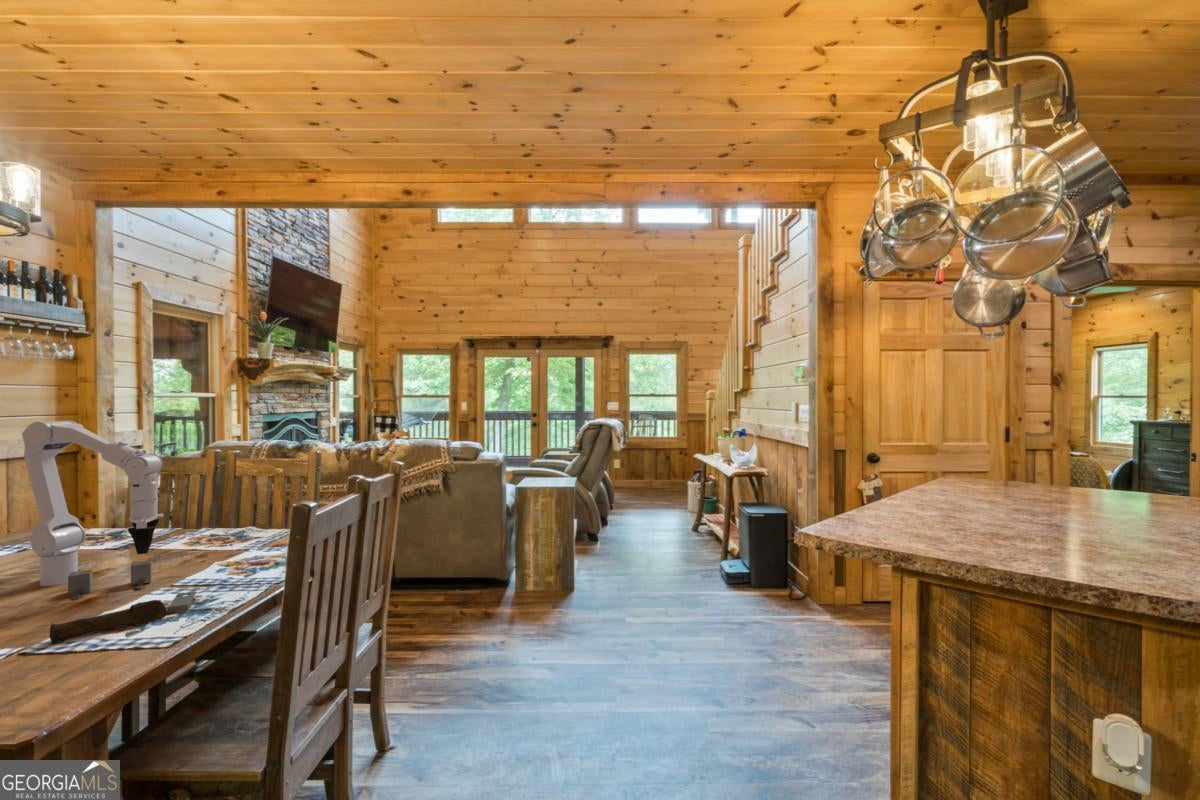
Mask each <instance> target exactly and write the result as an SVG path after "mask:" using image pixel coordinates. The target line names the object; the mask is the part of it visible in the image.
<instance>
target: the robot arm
mask: <svg viewBox="0 0 1200 800" xmlns="http://www.w3.org/2000/svg"><path fill="white" fill-rule="evenodd" d="M83 425H84V424H81V423H77V422H75V421H73V420H69V419H68V420H58V421H33V422H31V423H30V424H28V425H27V427H26V428H25V429H24V430H23V432H22V433H21V435H22V439H23V444H24V454H23V456H24V461H25V465H26V469H27V473H28V477H29V481H30V485H31V489H32V492H33V497H34V500H35V506H36V508H37V513H38V517H39V520H38V522H37V523H36V524H35V525H34V526H33V527H32V528H31V530H30V532H31V536H32V537H31V541H30V547H31V549H32V551H33V552H34V553H36V554H37V557H39V586H40V587H53V586H61V585H65V584H68V576H69V574H70V573H71V572H76V571H79V554H78V552H79V551H78V550H79V549H81V545H82V544H83V543H84V542H85V540H86V538H87V537H86V536H87V534H86V531H85V529H84V527H83V526H82V525H81V524H80V521H79V518H78V517H76V516H75V515H72V514H70V513H69V510H68V507H67V501H66V499H65V495H64V490H63V487H62V482H61V479H60V474H59V469H58V466H57V462H56V458H55V457H56V456H57V455H58V454H59V453H60V452H61V451H63V450H64V449H66V448H67V447H69V446H70V445H72V444H77V445H79V446H81V447H84V448H86V449H89V450H91V451H94V452H96V453H99V454H101V459H102V460H103V461H106V462H107V463H109V464H111V465H113V466H116V467H118V468H120V469H122V470H123V471H124V474H125V475H126V476H127V478H128V483H129V485H130V486H129V488H130V489H129V493H130V494H129V498H130V499H129V505H130V506H129V515H130V516H129V518H128V520H129V522H131V523H132V526H133V527H129V528H127V531H128V533H129V535H130V536H131V538H132V541H133V542H134V547H135V551H136V554H137V555H142V554H143V555H144V554H148V552H149V550H150V547H151V545H152V542H153V538H154V532H155V530H156V528H157V525H158V523H159V521H160V519H161V518H163V517H164V513H160V514H159V513H158V510H159V509H158V507H159V505H158V503H159V501H158V500H159V498H158V497H159V496H158V495H159V494H158V493H159V491H158V490H159V488H158V486H159V481H158V477H159V473H161V471H162V470H163V467H164V461H163V459H162V457H160V456H159V455H157V454H156V453H147V454H146V453H145V452H144V450H142V449H136V448H135V447H132V446H130V445H128V442H127V441H123V440H122V441H113V442H111V441H108V440H106V439H105V438H103V437H101V436H99V435H98V434H96V433H94V432H92V431H90V430H88V429H87V428H85V427H84V426H83Z"/></svg>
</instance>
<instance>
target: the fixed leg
mask: <svg viewBox="0 0 1200 800" xmlns="http://www.w3.org/2000/svg"><path fill="white" fill-rule="evenodd" d="M92 589H93V569H87V570H78V571H76V572H71V573H70V574H69V576H68V583H67V597H69V596H70V597H71V596H73V597H72V600H73V601H76V600H79V599H80V598H81V595H83V594H90V593H91V592H92Z"/></svg>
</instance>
